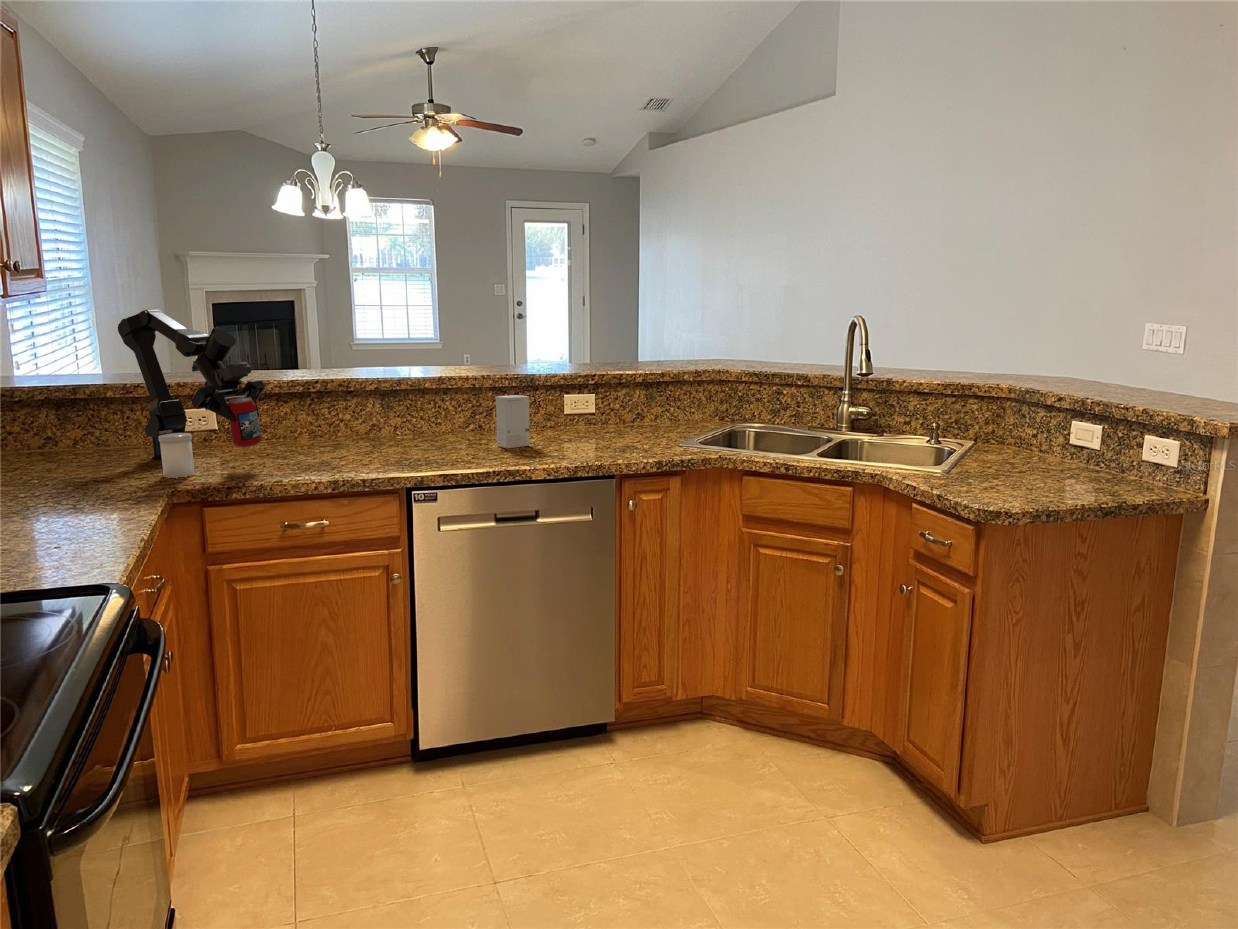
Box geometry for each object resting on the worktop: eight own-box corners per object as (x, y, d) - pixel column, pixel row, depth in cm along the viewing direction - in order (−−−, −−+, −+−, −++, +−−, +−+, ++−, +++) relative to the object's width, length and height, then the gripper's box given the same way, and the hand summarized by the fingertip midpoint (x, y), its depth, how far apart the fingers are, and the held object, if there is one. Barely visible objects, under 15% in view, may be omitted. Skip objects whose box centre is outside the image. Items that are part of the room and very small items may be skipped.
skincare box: (506, 449, 259) (505, 398, 255) (495, 446, 263) (494, 395, 260) (531, 445, 264) (529, 395, 261) (520, 442, 268) (518, 393, 265)
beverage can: (252, 448, 228) (244, 402, 224) (228, 448, 229) (220, 402, 226) (267, 441, 234) (259, 396, 231) (244, 441, 235) (236, 396, 232)
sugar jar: (157, 479, 221) (153, 438, 219) (169, 472, 228) (165, 433, 226) (189, 478, 222) (185, 437, 220) (199, 472, 229) (195, 432, 227)
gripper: (194, 354, 220) (227, 403, 217) (258, 349, 236) (290, 394, 233) (177, 384, 225) (209, 432, 222) (240, 377, 241) (271, 421, 238)
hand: (246, 419), depth 229 cm, fingers closed on beverage can, 6 cm apart
